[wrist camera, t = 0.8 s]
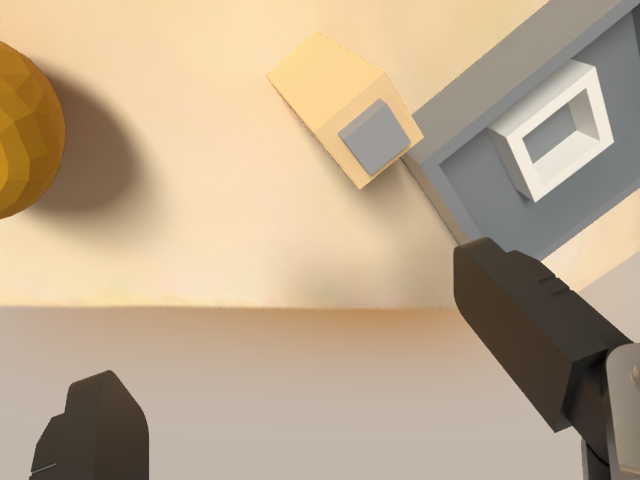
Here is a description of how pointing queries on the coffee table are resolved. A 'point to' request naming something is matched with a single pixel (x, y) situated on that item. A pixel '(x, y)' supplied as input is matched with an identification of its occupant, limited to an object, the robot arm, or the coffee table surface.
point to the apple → (27, 132)
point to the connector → (346, 106)
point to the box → (537, 129)
